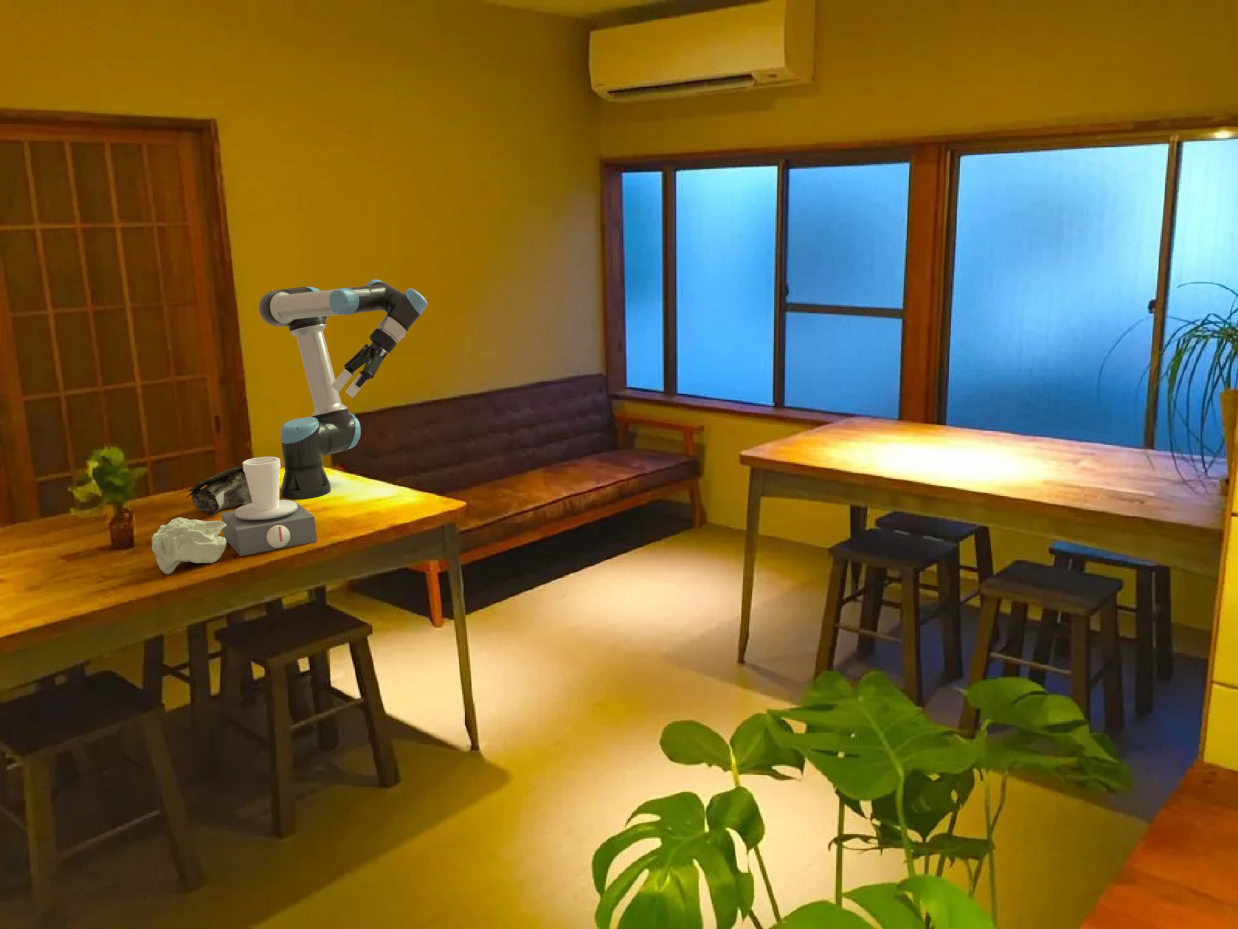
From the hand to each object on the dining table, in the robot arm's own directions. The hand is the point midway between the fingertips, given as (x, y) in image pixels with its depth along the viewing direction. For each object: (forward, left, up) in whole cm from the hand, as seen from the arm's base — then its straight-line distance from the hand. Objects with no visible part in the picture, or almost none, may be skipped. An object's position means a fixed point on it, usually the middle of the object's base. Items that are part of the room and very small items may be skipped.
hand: (341, 392), depth 298 cm
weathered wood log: (-29, -30, -36) cm, 55 cm away
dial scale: (+14, -28, -36) cm, 47 cm away
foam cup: (+14, -27, -27) cm, 41 cm away
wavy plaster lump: (+23, -50, -36) cm, 65 cm away
